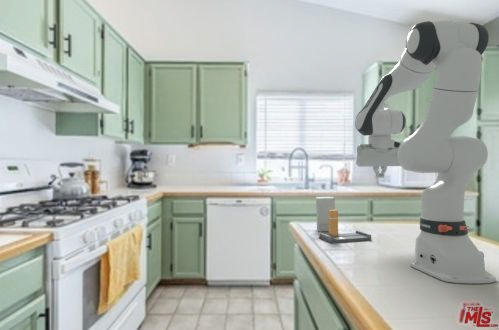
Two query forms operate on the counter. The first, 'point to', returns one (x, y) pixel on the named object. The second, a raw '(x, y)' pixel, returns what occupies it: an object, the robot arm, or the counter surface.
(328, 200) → the skincare box
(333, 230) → the tan tall block
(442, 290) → the counter surface
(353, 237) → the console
